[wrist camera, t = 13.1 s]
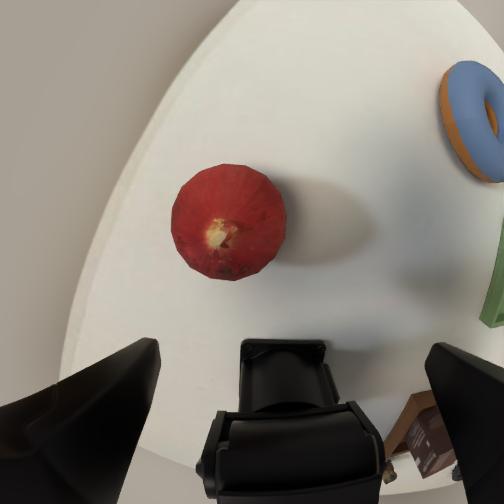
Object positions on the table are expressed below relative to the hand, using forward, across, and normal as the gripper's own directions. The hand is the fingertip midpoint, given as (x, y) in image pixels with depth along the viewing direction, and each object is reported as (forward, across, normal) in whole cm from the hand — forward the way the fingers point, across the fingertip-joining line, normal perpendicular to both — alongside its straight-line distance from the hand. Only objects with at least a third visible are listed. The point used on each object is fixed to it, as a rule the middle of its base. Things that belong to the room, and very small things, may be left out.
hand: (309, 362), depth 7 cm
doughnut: (+11, -16, -12) cm, 23 cm away
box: (+10, -21, +19) cm, 31 cm away
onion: (+11, +3, -3) cm, 12 cm away
